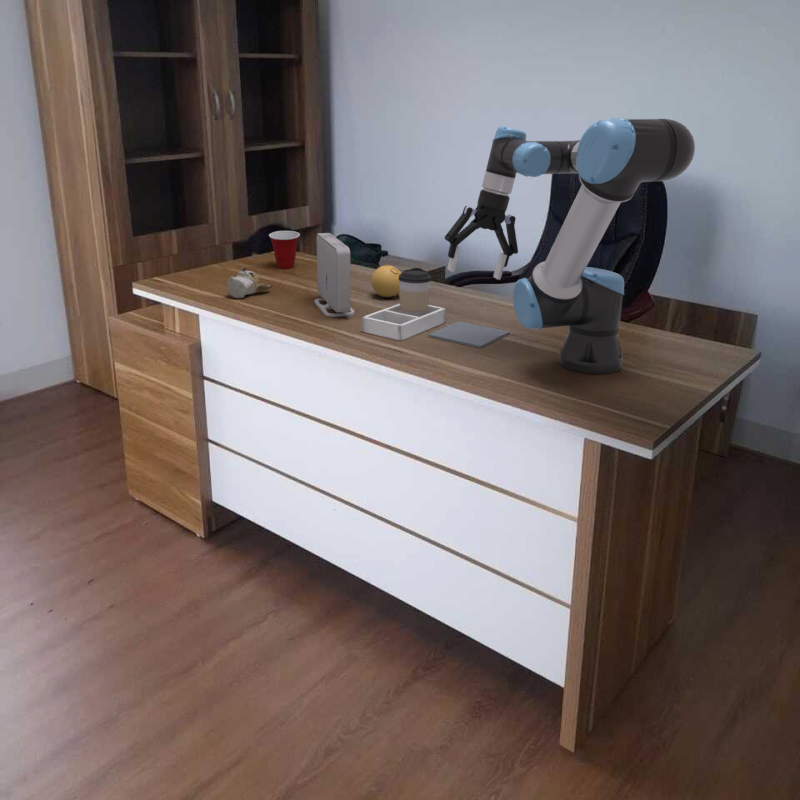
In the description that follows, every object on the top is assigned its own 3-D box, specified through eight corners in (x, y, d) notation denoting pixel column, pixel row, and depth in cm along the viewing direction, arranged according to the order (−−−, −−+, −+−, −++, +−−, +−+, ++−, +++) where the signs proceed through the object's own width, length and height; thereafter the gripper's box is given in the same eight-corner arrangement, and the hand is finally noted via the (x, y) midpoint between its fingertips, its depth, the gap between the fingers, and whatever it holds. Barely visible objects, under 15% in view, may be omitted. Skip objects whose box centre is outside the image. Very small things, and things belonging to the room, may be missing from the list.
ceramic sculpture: (216, 268, 248) (246, 262, 261) (216, 297, 251) (246, 289, 263) (245, 273, 243) (274, 267, 256) (245, 302, 246) (274, 294, 259)
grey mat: (509, 333, 222) (509, 331, 222) (480, 348, 210) (480, 346, 210) (458, 323, 230) (459, 321, 230) (427, 336, 218) (428, 334, 218)
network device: (310, 297, 253) (309, 232, 245) (337, 296, 255) (337, 231, 248) (329, 320, 230) (329, 249, 223) (359, 318, 233) (360, 248, 225)
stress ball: (392, 302, 250) (393, 270, 246) (365, 297, 254) (365, 265, 250) (408, 295, 258) (409, 264, 254) (381, 291, 262) (382, 260, 258)
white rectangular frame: (445, 322, 231) (446, 308, 230) (401, 340, 214) (401, 326, 213) (407, 314, 238) (407, 300, 236) (361, 331, 221) (361, 317, 220)
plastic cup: (265, 269, 287) (264, 235, 282) (275, 263, 297) (274, 230, 292) (295, 271, 285) (295, 237, 281) (304, 265, 295) (303, 231, 291)
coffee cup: (426, 328, 225) (428, 275, 219) (394, 326, 226) (395, 272, 221) (432, 320, 233) (434, 267, 227) (400, 317, 234) (402, 265, 229)
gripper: (530, 198, 212) (508, 277, 219) (445, 180, 202) (424, 263, 209) (545, 203, 206) (522, 285, 213) (457, 185, 196) (436, 271, 203)
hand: (473, 274), depth 211 cm, fingers open, 13 cm apart
